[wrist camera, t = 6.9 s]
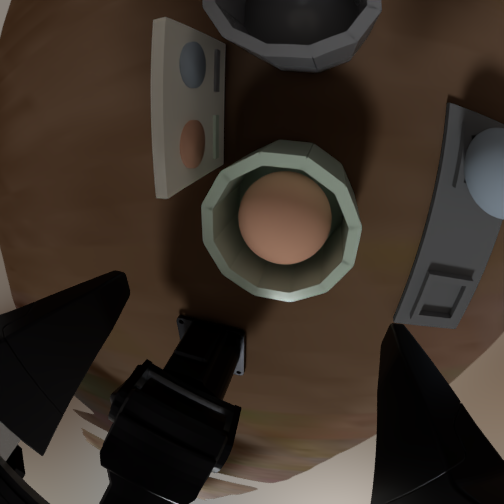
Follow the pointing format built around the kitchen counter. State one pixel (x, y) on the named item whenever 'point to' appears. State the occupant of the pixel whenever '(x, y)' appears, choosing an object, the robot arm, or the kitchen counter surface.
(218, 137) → the dot card
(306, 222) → the ball terracotta
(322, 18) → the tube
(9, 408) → the robot arm
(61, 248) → the kitchen counter surface
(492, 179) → the ball slate
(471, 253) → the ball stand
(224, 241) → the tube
